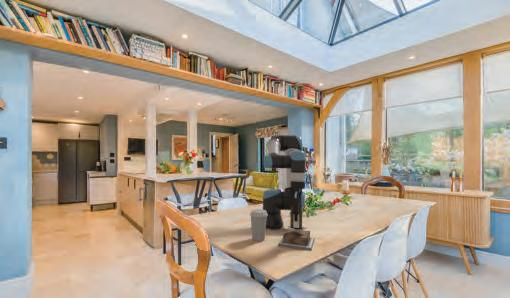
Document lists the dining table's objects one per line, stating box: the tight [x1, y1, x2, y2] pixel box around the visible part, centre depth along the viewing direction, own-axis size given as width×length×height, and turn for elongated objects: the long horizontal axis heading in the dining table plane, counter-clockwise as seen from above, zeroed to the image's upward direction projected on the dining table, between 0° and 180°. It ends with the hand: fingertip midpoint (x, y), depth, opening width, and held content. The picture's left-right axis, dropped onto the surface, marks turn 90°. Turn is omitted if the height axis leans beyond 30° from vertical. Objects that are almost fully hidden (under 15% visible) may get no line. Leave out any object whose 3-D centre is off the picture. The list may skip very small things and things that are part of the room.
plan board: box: [277, 236, 315, 251], centre depth 121 cm, size 16×16×1 cm
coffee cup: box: [249, 208, 268, 243], centre depth 125 cm, size 10×10×15 cm
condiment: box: [286, 204, 308, 230], centre depth 121 cm, size 7×8×12 cm
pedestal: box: [282, 227, 311, 246], centre depth 121 cm, size 12×12×4 cm
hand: (297, 225), depth 121 cm, fingers closed on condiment, 6 cm apart
